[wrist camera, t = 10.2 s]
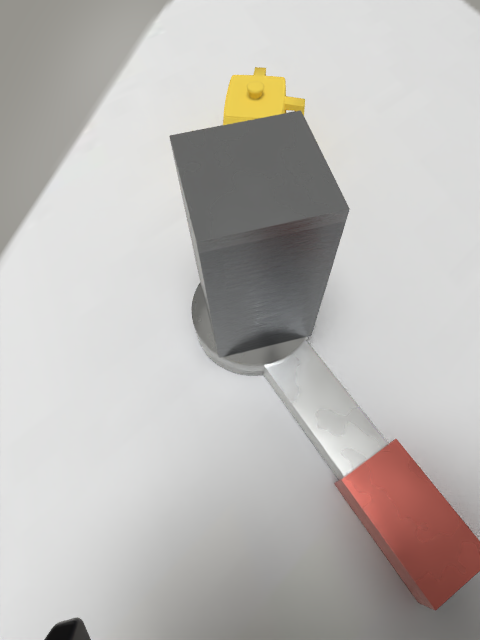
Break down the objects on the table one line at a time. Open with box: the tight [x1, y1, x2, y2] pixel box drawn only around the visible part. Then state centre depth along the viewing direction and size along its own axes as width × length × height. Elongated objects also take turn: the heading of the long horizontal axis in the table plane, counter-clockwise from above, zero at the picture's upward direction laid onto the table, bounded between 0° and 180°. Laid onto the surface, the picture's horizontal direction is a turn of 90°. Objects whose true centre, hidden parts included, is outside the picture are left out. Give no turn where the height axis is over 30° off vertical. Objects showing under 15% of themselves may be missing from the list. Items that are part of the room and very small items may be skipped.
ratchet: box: [192, 282, 480, 610], centre depth 21 cm, size 20×7×4 cm, turn 33°
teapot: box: [223, 67, 305, 125], centre depth 30 cm, size 8×6×5 cm
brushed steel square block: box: [170, 110, 349, 358], centre depth 19 cm, size 5×5×10 cm
